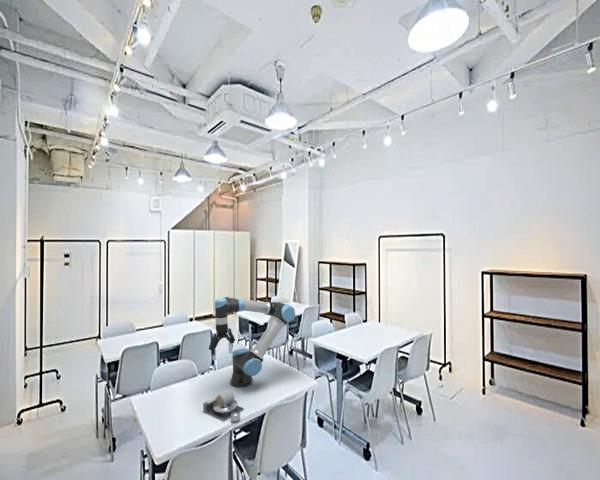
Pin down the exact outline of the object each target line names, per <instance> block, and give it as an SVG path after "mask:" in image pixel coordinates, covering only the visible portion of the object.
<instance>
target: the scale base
mask: <svg viewBox="0 0 600 480" xmlns="http://www.w3.org/2000/svg"><path fill="white" fill-rule="evenodd" d="M216 402H217V396H215V397H213V398H211V399H209V400H208V401H205V402H204V403H202V404H203V405H202V406H203V407H202V409H203V413H204V414H207V415H209V416H211V417H213V418H216V419H218V420H220V421H222V422H226V421H227V420H229V419H231V413H232V412H234V411H239V412H240V413H241V412H242V411H244V410H245V409H244V407H241V406H240V405H237V407H236V408H235V409H234V410H232V411H229V412H216V411H214V410H213V405H214V403H216Z"/></svg>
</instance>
